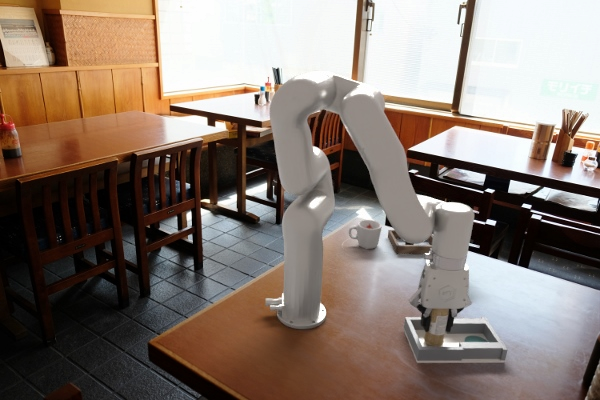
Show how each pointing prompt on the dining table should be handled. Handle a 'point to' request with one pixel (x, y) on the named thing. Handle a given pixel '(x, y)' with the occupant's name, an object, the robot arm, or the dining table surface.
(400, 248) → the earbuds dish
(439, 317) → the spice jar
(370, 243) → the cup
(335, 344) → the dining table surface
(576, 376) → the dining table surface
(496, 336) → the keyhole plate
